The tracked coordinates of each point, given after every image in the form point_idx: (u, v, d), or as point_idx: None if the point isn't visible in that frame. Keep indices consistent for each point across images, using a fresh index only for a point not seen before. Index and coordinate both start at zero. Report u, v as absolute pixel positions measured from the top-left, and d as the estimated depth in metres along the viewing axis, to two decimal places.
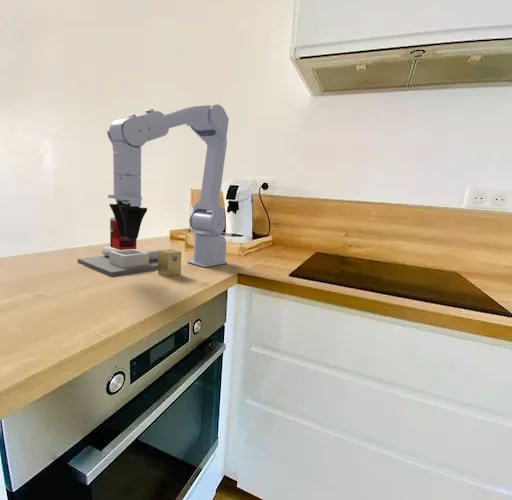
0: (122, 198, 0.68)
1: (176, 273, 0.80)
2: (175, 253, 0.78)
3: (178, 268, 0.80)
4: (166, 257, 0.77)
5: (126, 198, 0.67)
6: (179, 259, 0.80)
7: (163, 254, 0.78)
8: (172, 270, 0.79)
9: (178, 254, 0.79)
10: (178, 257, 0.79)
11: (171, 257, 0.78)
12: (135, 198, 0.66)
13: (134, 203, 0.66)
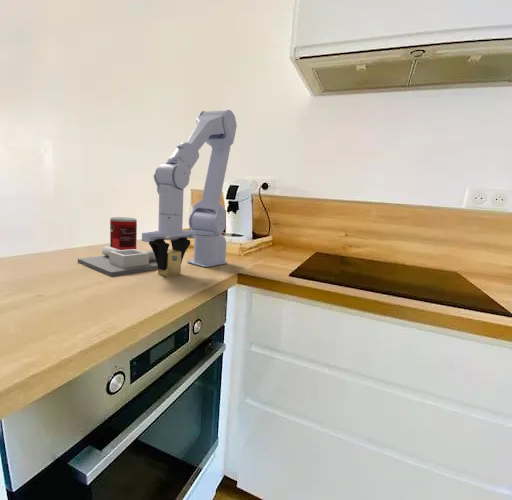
0: None
1: (176, 273, 0.80)
2: (175, 253, 0.78)
3: (178, 268, 0.80)
4: (166, 257, 0.77)
5: None
6: (179, 259, 0.80)
7: None
8: (172, 269, 0.79)
9: (178, 254, 0.79)
10: (178, 257, 0.79)
11: (171, 257, 0.78)
12: (143, 234, 0.73)
13: (143, 238, 0.73)
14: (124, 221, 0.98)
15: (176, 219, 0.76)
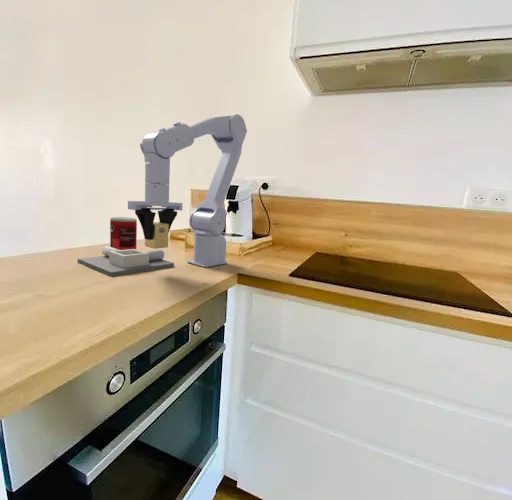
0: None
1: (163, 245, 0.80)
2: (162, 225, 0.79)
3: (165, 240, 0.80)
4: (154, 228, 0.77)
5: None
6: (166, 231, 0.80)
7: None
8: (159, 241, 0.79)
9: (165, 226, 0.79)
10: (165, 229, 0.80)
11: (158, 228, 0.78)
12: (129, 202, 0.73)
13: (129, 206, 0.73)
14: (124, 221, 0.98)
15: (162, 188, 0.76)
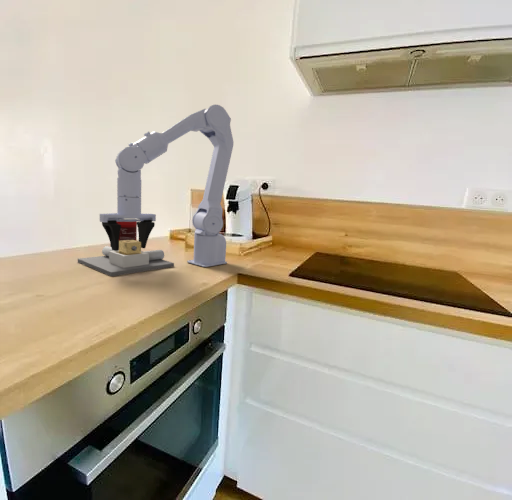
0: None
1: None
2: (134, 243, 0.82)
3: None
4: (125, 247, 0.81)
5: None
6: (139, 249, 0.83)
7: (123, 244, 0.82)
8: None
9: (138, 244, 0.83)
10: (138, 247, 0.83)
11: (130, 247, 0.81)
12: (100, 215, 0.77)
13: (100, 219, 0.77)
14: None
15: (133, 201, 0.80)
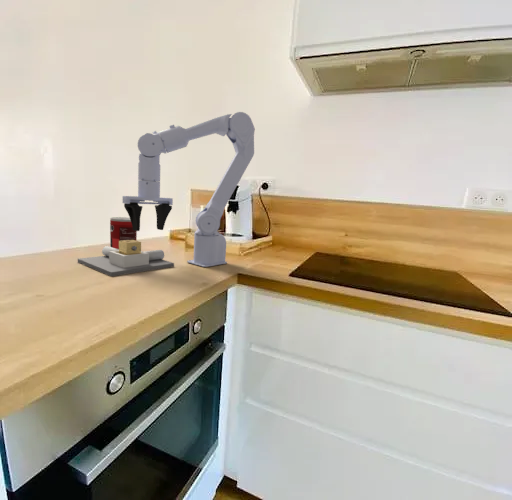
0: None
1: None
2: (134, 243, 0.82)
3: None
4: (125, 247, 0.81)
5: None
6: (139, 249, 0.83)
7: (123, 244, 0.82)
8: None
9: (138, 244, 0.83)
10: (138, 247, 0.83)
11: (130, 247, 0.81)
12: (123, 197, 0.83)
13: (123, 201, 0.83)
14: (124, 221, 0.98)
15: (153, 185, 0.86)
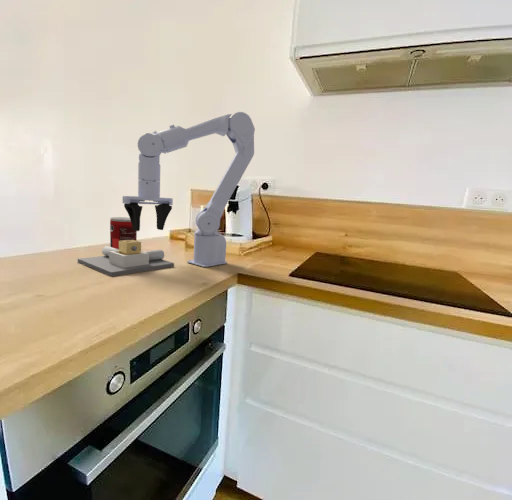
0: None
1: None
2: (134, 243, 0.82)
3: None
4: (125, 247, 0.81)
5: None
6: (139, 249, 0.83)
7: (123, 244, 0.82)
8: None
9: (138, 244, 0.83)
10: (138, 247, 0.83)
11: (130, 247, 0.81)
12: (123, 197, 0.83)
13: (123, 201, 0.83)
14: (124, 221, 0.98)
15: (153, 185, 0.86)
